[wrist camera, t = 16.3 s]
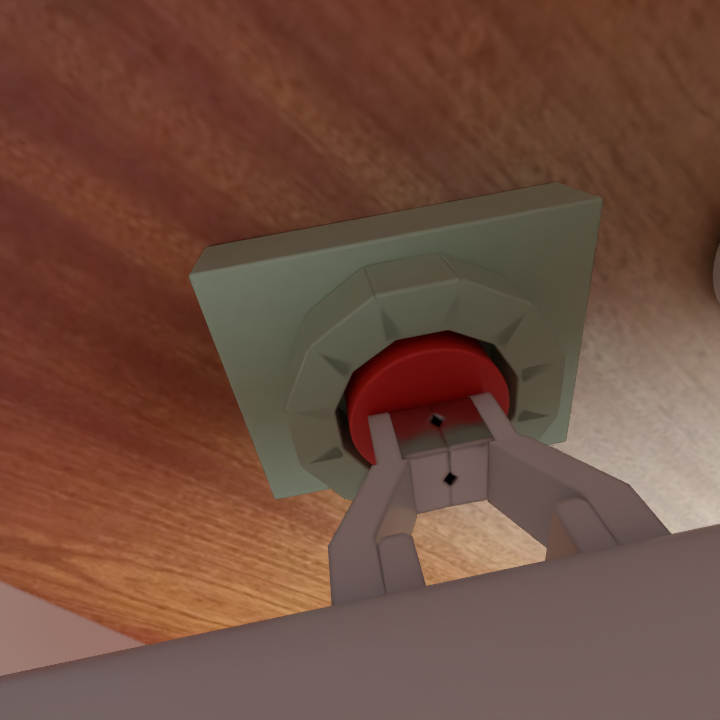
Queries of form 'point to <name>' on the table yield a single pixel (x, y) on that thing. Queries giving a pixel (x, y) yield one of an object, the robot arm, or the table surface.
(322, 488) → the control block
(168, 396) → the table surface
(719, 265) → the beverage can
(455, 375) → the button
